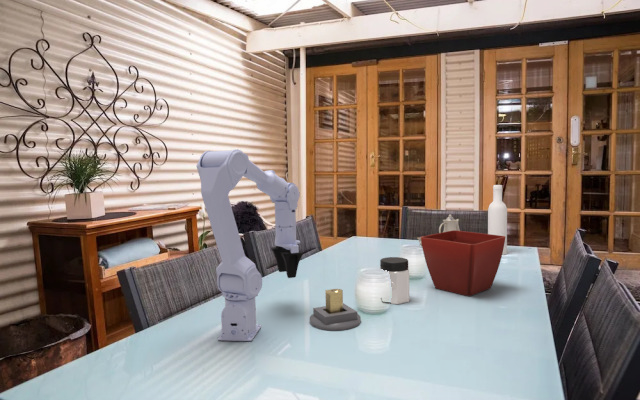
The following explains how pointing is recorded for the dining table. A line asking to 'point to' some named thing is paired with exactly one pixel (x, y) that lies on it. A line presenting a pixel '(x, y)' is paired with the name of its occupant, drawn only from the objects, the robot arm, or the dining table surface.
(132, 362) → the dining table surface
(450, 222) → the chinaware
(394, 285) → the jar
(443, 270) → the plant pot
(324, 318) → the hub
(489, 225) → the bottle
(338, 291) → the shaft
